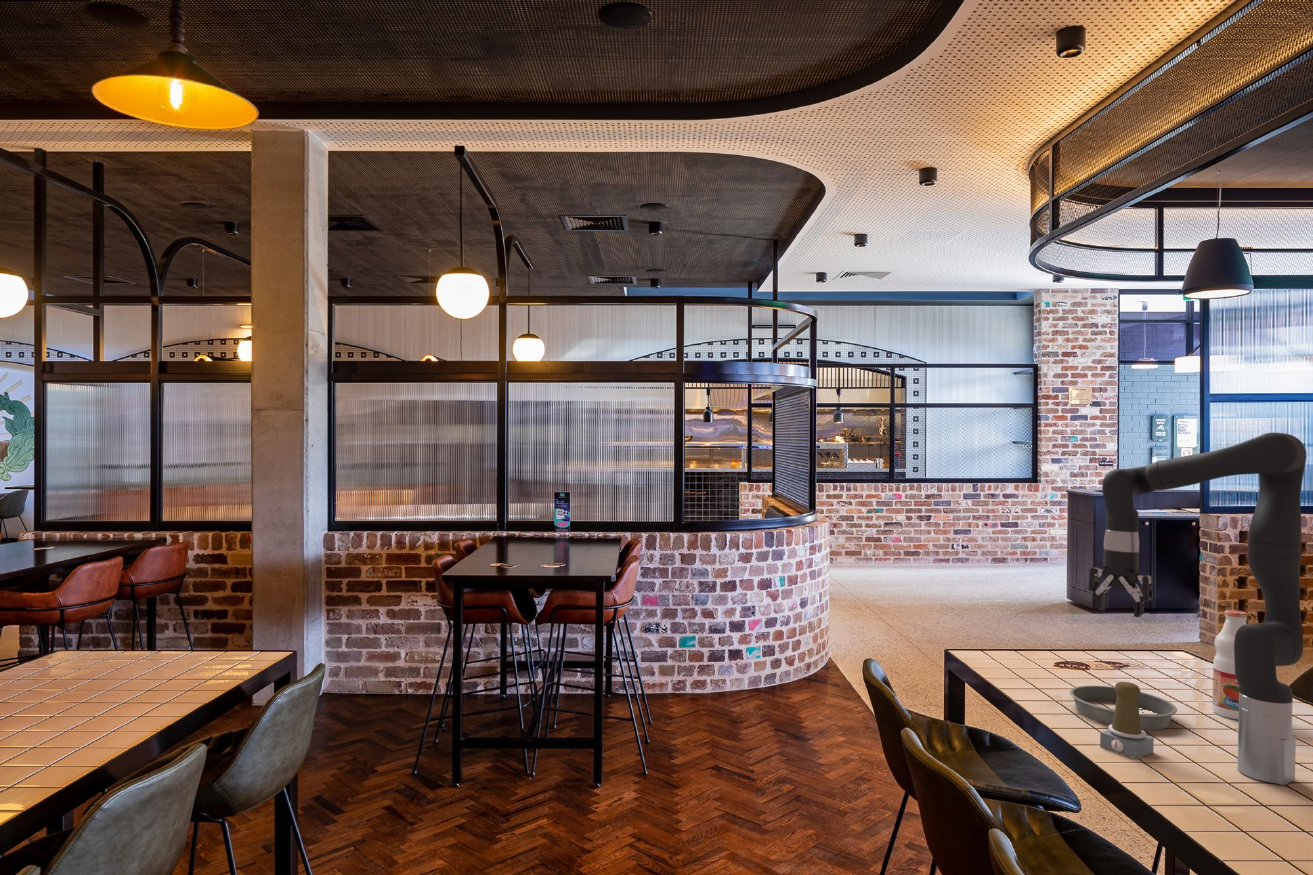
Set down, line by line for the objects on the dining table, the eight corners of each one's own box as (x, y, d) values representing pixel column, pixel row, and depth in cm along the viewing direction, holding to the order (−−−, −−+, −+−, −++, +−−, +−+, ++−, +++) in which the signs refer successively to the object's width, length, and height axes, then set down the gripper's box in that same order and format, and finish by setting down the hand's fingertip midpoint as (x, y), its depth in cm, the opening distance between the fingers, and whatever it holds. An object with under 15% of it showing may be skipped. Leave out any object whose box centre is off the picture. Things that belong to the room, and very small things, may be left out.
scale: (1153, 752, 179) (1153, 732, 179) (1134, 759, 175) (1135, 739, 175) (1117, 740, 186) (1118, 721, 186) (1099, 747, 182) (1099, 727, 182)
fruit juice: (1237, 709, 212) (1239, 608, 212) (1265, 721, 202) (1267, 616, 203) (1203, 708, 212) (1206, 607, 212) (1229, 721, 202) (1231, 615, 203)
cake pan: (1176, 713, 208) (1177, 696, 208) (1176, 740, 188) (1177, 722, 188) (1074, 694, 222) (1074, 678, 222) (1064, 718, 202) (1064, 701, 202)
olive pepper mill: (1114, 723, 185) (1115, 677, 185) (1143, 729, 181) (1144, 682, 181) (1109, 729, 180) (1110, 683, 180) (1139, 736, 176) (1140, 688, 177)
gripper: (1159, 551, 188) (1157, 617, 188) (1099, 543, 200) (1097, 605, 200) (1144, 553, 184) (1142, 621, 184) (1084, 545, 196) (1082, 608, 196)
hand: (1119, 613), depth 192 cm, fingers open, 8 cm apart
